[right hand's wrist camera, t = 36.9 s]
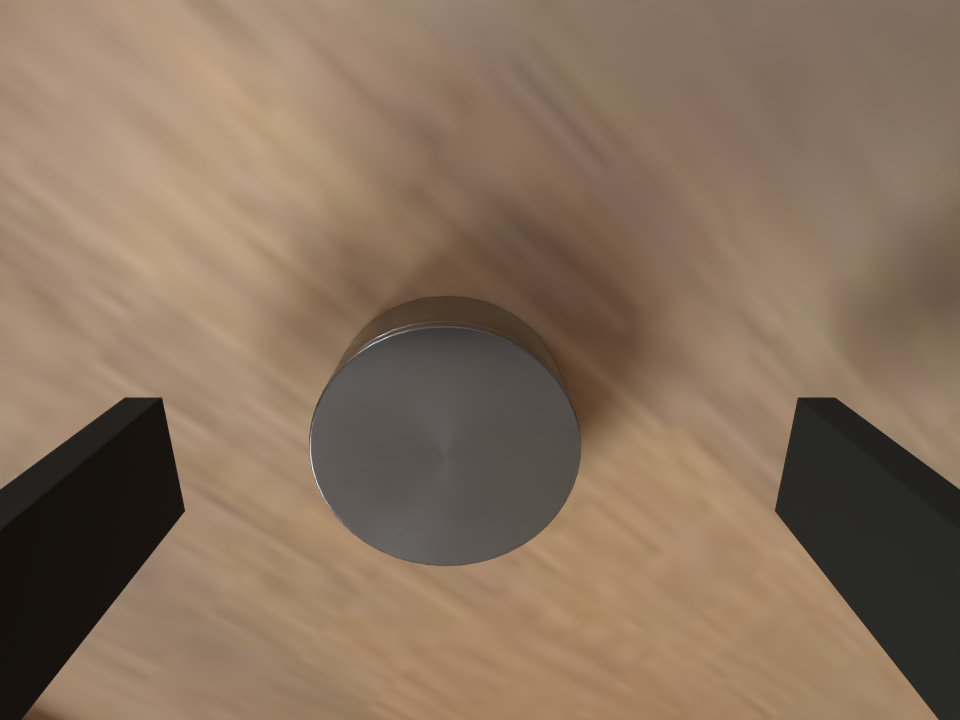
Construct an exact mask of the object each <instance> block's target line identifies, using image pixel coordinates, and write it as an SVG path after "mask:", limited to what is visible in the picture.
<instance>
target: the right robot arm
mask: <svg viewBox="0 0 960 720" xmlns="http://www.w3.org/2000/svg"><path fill="white" fill-rule="evenodd" d="M184 512H185V508H184V503H183V498H182V493H181V488H180V483H179V479H178V474H177V469H176V464H175V459H174V454H173V449H172V444H171V439H170V434H169V430H168V425H167V420H166V415H165V410H164V405H163V400H162V398H124V399H122V400H121V401H120V402H118V403H117V404H116V405H114V406H113V407H111V408H110V409H109V410H107V411H106V412H105V413H103V414H102V415H101V416H99V417H98V418H97V419H95V420H94V421H93V422H91V423H90V424H88V425H87V426H86V427H84V428H83V429H82V430H80V431H79V432H78V433H76V434H75V435H74V436H72V437H71V438H69V439H68V440H67V441H65V442H64V443H63V444H61V445H60V446H59V447H57V448H56V449H55V450H53V451H52V452H51V453H49V454H48V455H46V456H45V457H44V458H42V459H41V460H40V461H38V462H37V463H36V464H34V465H33V466H32V467H30V468H29V469H28V470H26V471H25V472H23V473H22V474H21V475H19V476H18V477H17V478H15V479H14V480H13V481H11V482H10V483H9V484H7V485H6V486H4V487H3V488H2V489H0V720H21V719H22V718H23V717H24V715H25V714H26V713H27V712H28V710H29V709H30V708H31V707H32V705H33V704H34V703H35V701H36V700H37V699H38V698H39V696H40V695H41V694H42V693H43V691H44V690H45V689H46V687H47V686H48V685H49V684H50V682H51V681H52V680H53V678H54V677H55V676H56V675H57V673H58V672H59V671H60V670H61V668H62V667H63V666H64V664H65V663H66V662H67V661H68V659H69V658H70V657H71V656H72V654H73V653H74V652H75V650H76V649H77V648H78V647H79V645H80V644H81V643H82V642H83V640H84V639H85V638H86V636H87V635H88V634H89V633H90V631H91V630H92V629H93V628H94V626H95V625H96V624H97V622H98V621H99V620H100V619H101V617H102V616H103V615H104V614H105V612H106V611H107V610H108V608H109V607H110V606H111V605H112V603H113V602H114V601H115V600H116V598H117V597H118V596H119V594H120V593H121V592H122V591H123V589H124V588H125V587H126V586H127V584H128V583H129V582H130V580H131V579H132V578H133V577H134V575H135V574H136V573H137V572H138V570H139V569H140V568H141V566H142V565H143V564H144V563H145V561H146V560H147V559H148V558H149V556H150V555H151V554H152V552H153V551H154V550H155V549H156V547H157V546H158V545H159V544H160V542H161V541H162V540H163V538H164V537H165V536H166V535H167V533H168V532H169V531H170V530H171V528H172V527H173V526H174V524H175V523H176V522H177V521H178V519H179V518H180V517H181V516H182V514H183V513H184ZM775 512H776V513H777V514H778V516H779V517H780V518H781V519H782V521H783V522H784V523H785V524H786V526H787V527H788V528H789V530H790V531H791V532H792V533H793V535H794V536H795V537H796V538H797V540H798V541H799V542H800V544H801V545H802V546H803V547H804V549H805V550H806V551H807V552H808V554H809V555H810V556H811V558H812V559H813V560H814V561H815V563H816V564H817V565H818V566H819V568H820V569H821V570H822V572H823V573H824V574H825V575H826V577H827V578H828V579H829V580H830V582H831V583H832V584H833V586H834V587H835V588H836V589H837V591H838V592H839V593H840V594H841V596H842V597H843V598H844V600H845V601H846V602H847V603H848V605H849V606H850V607H851V608H852V610H853V611H854V612H855V614H856V615H857V616H858V617H859V619H860V620H861V621H862V622H863V624H864V625H865V626H866V628H867V629H868V630H869V631H870V633H871V634H872V635H873V636H874V638H875V639H876V640H877V642H878V643H879V644H880V645H881V647H882V648H883V649H884V650H885V652H886V653H887V654H888V656H889V657H890V658H891V659H892V661H893V662H894V663H895V664H896V666H897V667H898V668H899V670H900V671H901V672H902V673H903V675H904V676H905V677H906V678H907V680H908V681H909V682H910V684H911V685H912V686H913V687H914V689H915V690H916V691H917V693H918V694H919V695H920V696H921V698H922V699H923V700H924V701H925V703H926V704H927V705H928V707H929V708H930V709H931V710H932V712H933V713H934V714H935V715H936V717H937V718H938V719H939V720H960V489H958V488H957V487H956V486H954V485H953V484H951V483H950V482H949V481H947V480H946V479H945V478H943V477H942V476H941V475H939V474H938V473H937V472H935V471H934V470H933V469H931V468H930V467H928V466H927V465H926V464H924V463H923V462H922V461H920V460H919V459H918V458H916V457H915V456H914V455H912V454H911V453H909V452H908V451H907V450H905V449H904V448H903V447H901V446H900V445H899V444H897V443H896V442H895V441H893V440H892V439H891V438H889V437H888V436H886V435H885V434H884V433H882V432H881V431H880V430H878V429H877V428H876V427H874V426H873V425H872V424H870V423H869V422H867V421H866V420H865V419H863V418H862V417H861V416H859V415H858V414H857V413H855V412H854V411H853V410H851V409H850V408H849V407H847V406H846V405H844V404H843V403H842V402H840V401H839V400H838V399H836V398H798V400H797V405H796V410H795V415H794V420H793V425H792V430H791V434H790V439H789V444H788V449H787V454H786V459H785V464H784V469H783V474H782V479H781V483H780V488H779V493H778V498H777V503H776V508H775Z"/></svg>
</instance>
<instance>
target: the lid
mask: <svg viewBox="0 0 960 720" xmlns="http://www.w3.org/2000/svg"><path fill="white" fill-rule="evenodd" d="M309 454H310V460H311V467H312V471H313V474H314V477H315V481H316V484H317V486H318V488H319V490H320V492H321V495H322V497H323V499H324V500H325V502H326V503H327V505H328V506H329V508H330V509H331V511H332V512H333V513H334V515H335V516H336V517H337V518H338V519H339V520H340V522H341V523H342V524H343V525H344V526H345V527H346V528H348V529H349V530H350V531H351V532H352V533H353V534H354V535H356V536H357V537H358V538H360V539H361V540H363V541H364V542H365V543H367V544H369V545H370V546H372V547H374V548H376V549H378V550H379V551H381V552H384V553H386V554H389V555H391V556H393V557H396V558H399V559H403V560H406V561H410V562H414V563H420V564H426V565H437V566H456V565H466V564H473V563H478V562H482V561H486V560H490V559H493V558H496V557H498V556H501V555H504V554H506V553H509V552H510V551H512V550H514V549H516V548H518V547H520V546H522V545H523V544H525V543H526V542H528V541H529V540H531V539H532V538H534V537H535V536H536V535H537V534H538V533H540V532H541V531H542V530H543V529H544V528H545V527H546V526H547V525H548V524H549V523H550V522H551V521H552V520H553V519H554V518H555V516H556V515H557V514H558V513H559V511H560V510H561V508H562V507H563V505H564V504H565V502H566V500H567V498H568V496H569V494H570V492H571V490H572V488H573V486H574V483H575V480H576V477H577V474H578V469H579V463H580V457H581V438H580V430H579V424H578V420H577V417H576V413H575V410H574V407H573V405H572V402H571V399H570V397H569V394H568V392H567V389H566V387H565V384H564V382H563V379H562V377H561V374H560V371H559V369H558V367H557V364H556V362H555V360H554V358H553V356H552V354H551V353H550V351H549V349H548V348H547V346H546V345H545V343H544V342H543V341H542V340H541V339H540V337H539V336H538V335H537V334H536V333H535V332H534V331H533V330H532V329H531V328H530V327H529V326H528V325H527V324H525V323H524V322H523V321H521V320H520V319H519V318H517V317H516V316H514V315H513V314H511V313H509V312H507V311H505V310H503V309H501V308H500V307H497V306H495V305H492V304H489V303H486V302H484V301H480V300H475V299H471V298H465V297H454V296H443V297H430V298H424V299H418V300H415V301H412V302H408V303H405V304H402V305H400V306H398V307H396V308H393V309H391V310H389V311H387V312H386V313H384V314H382V315H381V316H379V317H378V318H376V319H375V320H373V321H372V322H371V323H370V324H369V325H367V326H366V327H365V328H364V329H363V330H362V331H361V332H360V333H359V334H358V335H357V337H356V338H355V339H354V340H353V341H352V343H351V344H350V346H349V347H348V349H347V350H346V352H345V353H344V355H343V357H342V359H341V360H340V362H339V364H338V366H337V367H336V369H335V371H334V373H333V374H332V376H331V378H330V380H329V382H328V383H327V385H326V387H325V389H324V390H323V392H322V395H321V397H320V399H319V401H318V403H317V405H316V408H315V411H314V415H313V418H312V422H311V428H310V435H309Z"/></svg>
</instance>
